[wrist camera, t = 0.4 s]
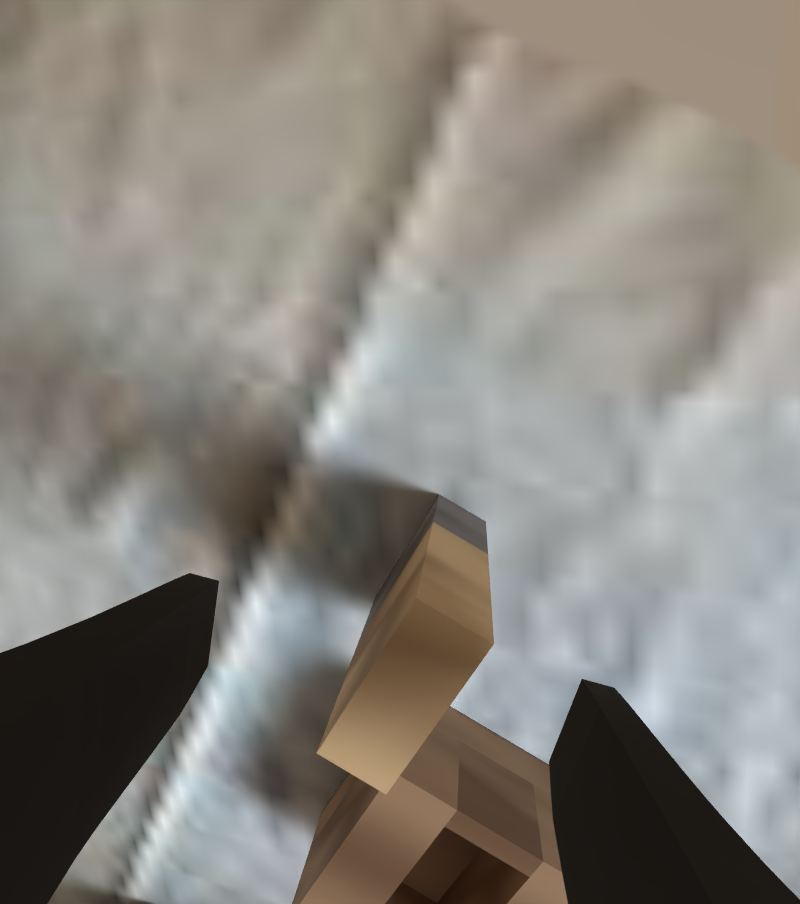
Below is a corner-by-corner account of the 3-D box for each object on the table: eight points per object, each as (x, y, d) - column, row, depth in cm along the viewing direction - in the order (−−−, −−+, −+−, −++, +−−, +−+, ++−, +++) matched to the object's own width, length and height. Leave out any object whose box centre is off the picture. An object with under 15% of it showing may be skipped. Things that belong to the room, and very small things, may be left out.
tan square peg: (419, 623, 21) (386, 794, 13) (375, 597, 21) (316, 753, 13) (485, 521, 19) (493, 643, 12) (439, 494, 19) (416, 598, 12)
